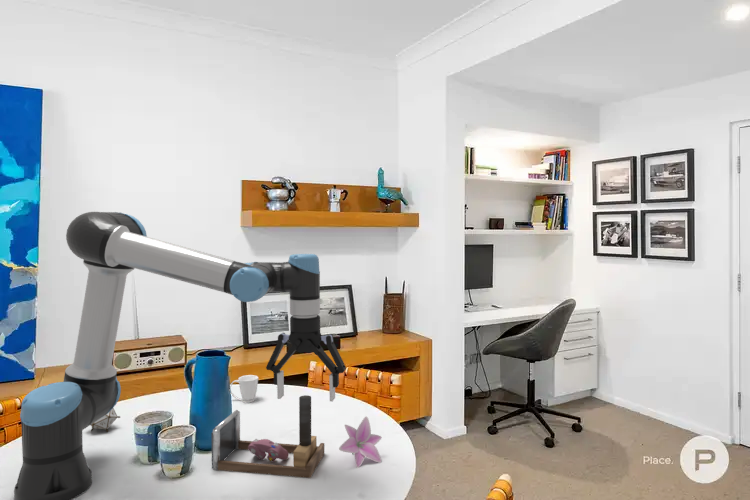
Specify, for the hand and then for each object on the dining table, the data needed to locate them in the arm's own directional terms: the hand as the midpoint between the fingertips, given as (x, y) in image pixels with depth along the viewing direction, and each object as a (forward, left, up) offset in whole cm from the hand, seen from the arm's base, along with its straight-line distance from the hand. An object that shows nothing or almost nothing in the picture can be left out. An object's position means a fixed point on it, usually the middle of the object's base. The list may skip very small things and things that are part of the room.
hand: (306, 398), depth 129 cm
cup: (+42, +35, -17) cm, 57 cm away
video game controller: (+1, +11, -17) cm, 20 cm away
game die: (+11, +66, -17) cm, 69 cm away
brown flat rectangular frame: (0, +9, -17) cm, 19 cm away
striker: (0, 0, -17) cm, 17 cm away
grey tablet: (0, +22, -17) cm, 28 cm away
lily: (+5, -13, -17) cm, 22 cm away
